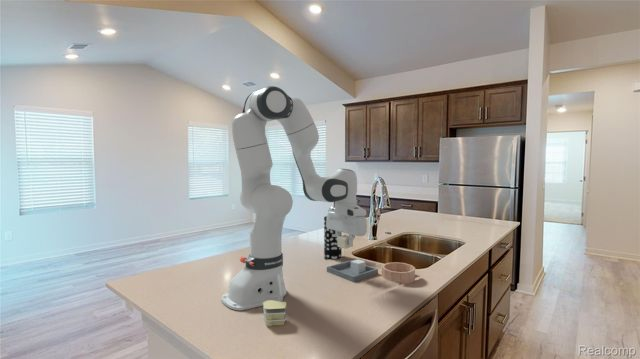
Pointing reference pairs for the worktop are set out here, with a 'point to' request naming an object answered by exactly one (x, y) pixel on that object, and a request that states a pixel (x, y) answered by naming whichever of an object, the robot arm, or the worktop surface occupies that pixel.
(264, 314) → the pale green layered block
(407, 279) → the terracotta bowl
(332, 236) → the spotted tube
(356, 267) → the pale blue cube
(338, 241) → the cream small cube
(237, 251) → the worktop surface
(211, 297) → the worktop surface
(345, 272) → the parts tray
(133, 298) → the worktop surface
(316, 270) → the worktop surface
